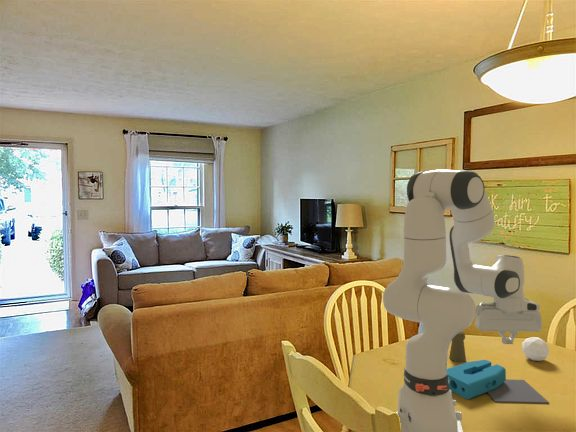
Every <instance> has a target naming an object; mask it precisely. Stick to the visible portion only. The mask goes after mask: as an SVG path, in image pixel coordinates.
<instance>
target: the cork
mask: <svg viewBox="0 0 576 432" xmlns="http://www.w3.org/2000/svg"><path fill="white" fill-rule="evenodd" d="M465 339H466V334H465V332H464V331H463V330H462V331H460V332H459V333H458V334H456V335H455V336H454V338H453V339H452V341H451V343H450V351H449V358H448V359H449V360H451V361H453V362H456V363H466V362H467V358H466V349H465V348H466V347H465Z"/></svg>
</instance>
